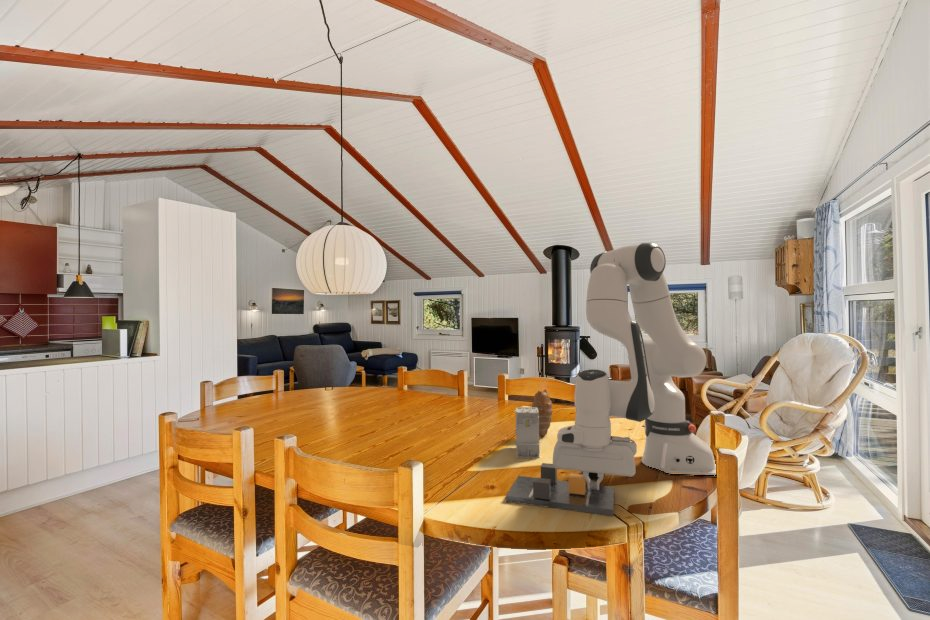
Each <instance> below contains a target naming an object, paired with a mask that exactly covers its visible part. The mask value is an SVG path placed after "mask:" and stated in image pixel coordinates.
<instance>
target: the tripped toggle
mask: <svg viewBox="0 0 930 620" xmlns="http://www.w3.org/2000/svg"><path fill="white" fill-rule="evenodd" d="M568 482H569V493H573V494H581V495H585V492H586V484H587V482H586V480H585V478H584V477H583V475H582V473H581V474H579V473H572V472H571V473H569V475H568Z"/></svg>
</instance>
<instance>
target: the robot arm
mask: <svg viewBox="0 0 930 620" xmlns="http://www.w3.org/2000/svg"><path fill="white" fill-rule="evenodd" d="M589 267H590V268H589V271H590V275H589V276H590V277H589V280H588V285H587V289H586V290H587V291H586V301H585V302H586V303H585V314H586V316H585V317H586V320H587V323H588V325H590V327H591V328H592V329H593V330H595V331H596V332H597V333H598V334H601V335H603V336H606V337H609V338H611V339H613V340H615V341H617V342H619V343H621V344H622V345H623V346H624V348H625V349H626V352H627V359H628V364H629V365H628V366H629V370H630V380H628V381H626V380H615V379H613V380H612V379H609V376H608V373H607V372H605V371H603V370H601V369H595V368H594V369H585V370H581V371H579V372H578V373H577V375H576V379H575V386H574V387H575V388H574V408H575V413H576V414H575V418H574V424H573V425H569V426H564V427H561V428H560V429H559V430H558V432H557V435H556V437H557V438H556V439H557V441H556V443H555V445H554V447H553V454H552V464H553V466H554V467H555V468H556V469H557V470H564V471H575V472H576V471H577V472H581V471H582V472H583V477H584V478H585V480H586V484H587V485H588V489H593V490H599V485H600V484H601V483H602V481H603V480H604V478H605V476H604V474H605V475H612V476H613V475H614V476H622V477H631V478H632V477H634V476H635V475H636V462H635V460H636V459H635V455H636V454H637V451H638V449H637V448H638V447H637V444H636V441H635V440H633V439H632V438H630V437H626V436H625V437H624V436H623V437H621V436H615V435H612V423H611V419H610V417H611V418H620V419H626V420H630V421H634V422H638V423H639V422H640V423H641V422H644V434H645V442H644V450H643V454H642V457H641V463H642V464H643V465H645V466H646V467H648V466H649V468H650V467H652V468H651V469H653V468H656V469H659V470H661V471H664V472H666V473H682V474H705V475H714V476H713V477H716V476H715V475H716V464H715V461H716V460H715V457H714V453H713V450H712V448H711V447H710V445H709V444H707V443H706V442H705V441H704V440H702V439H701V438H700V437H698V436H697V435H696V434H695V432H696V431H697V427H696V425H694V424H693V423H692V422H691V421H689V420H687V419H686V397H685V394H684V393H683V392H682V391H681V390H680V388H678V386H677V385H676V384H675V382H674V381H673V377H676V378H693V377H698V376H700V375H701V374H702V372H704V370H705V367H706V365H707V356H706V353H705V350H704V348H703V347H701V346H700V345H699V344H697V343H696V342H695V341H693V339H691V338H690V337H689V336H688V334H687V333H686V332H685V330H684V329H683V328H682V326H681V325H680V322H679V321H678V318H677V316H676V313H675V310H674V307H673V306H674V305H673V302H672V296H671V293H670V290H669V289H670V288H669V287H668V283H667V280H666V277H665V275H664V271H665V269H666V256H665V253H664V251H663V249H662V248H661V247H660V246H659V245H658V244H656V243H652V242H642V243H640V244H631V245H624V246H621V247H618V248H615V249H612V250H609V251H604V252H601V253H599V254H597V255H596V256H594V257H593V258H592V261H591V263H590V266H589ZM628 286H629V287H628ZM628 288H629V294H630V299H631V304H632V308H633V312H634V316H635V320H633V319H632V317H631V315H630V312H629V308H628V300H629V299H628V297H629V296H628ZM642 331H643V332H645V333H646V334H647V335H648V336H649V338H644V337H643V333H642ZM643 338H644V339H643ZM656 469H655V470H656ZM659 470H658V471H659ZM661 471H660V472H661ZM589 472H592V473H598V477H599V478H598V479H596V480H592V479H591V478H589V476H588V475H589Z"/></svg>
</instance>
